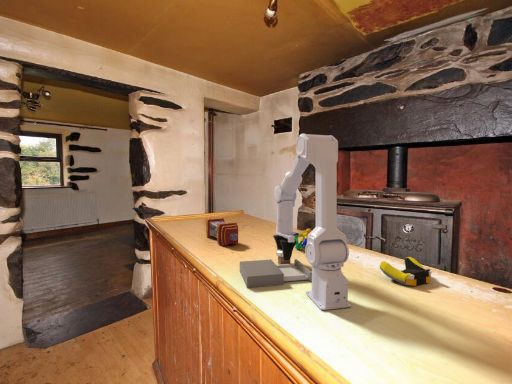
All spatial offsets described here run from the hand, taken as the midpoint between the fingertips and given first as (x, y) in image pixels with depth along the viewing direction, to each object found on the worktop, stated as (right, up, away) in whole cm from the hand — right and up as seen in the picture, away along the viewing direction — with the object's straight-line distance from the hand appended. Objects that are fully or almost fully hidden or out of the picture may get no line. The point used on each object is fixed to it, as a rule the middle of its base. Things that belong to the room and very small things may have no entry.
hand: (284, 257), depth 93 cm
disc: (0, +1, 0) cm, 1 cm away
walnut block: (0, -3, 0) cm, 3 cm away
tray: (0, -3, -10) cm, 10 cm away
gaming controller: (+37, -4, -12) cm, 39 cm away
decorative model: (+12, -2, +20) cm, 24 cm away
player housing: (-8, -3, -12) cm, 15 cm away
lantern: (-27, -1, +32) cm, 42 cm away
